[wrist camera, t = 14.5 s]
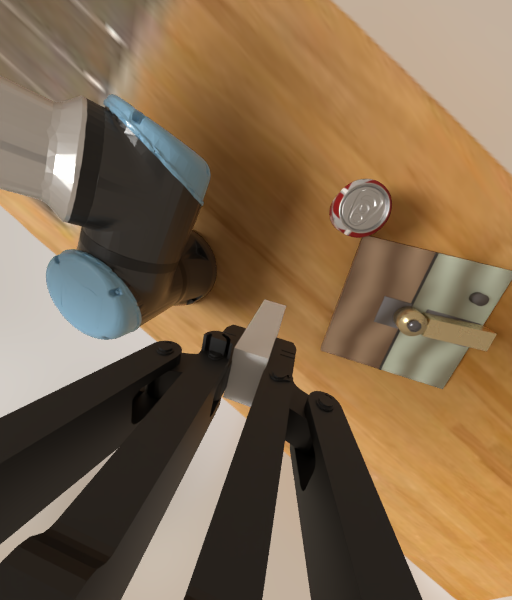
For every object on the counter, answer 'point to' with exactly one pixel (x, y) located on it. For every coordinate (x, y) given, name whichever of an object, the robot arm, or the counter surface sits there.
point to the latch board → (409, 292)
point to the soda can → (361, 208)
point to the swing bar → (443, 328)
